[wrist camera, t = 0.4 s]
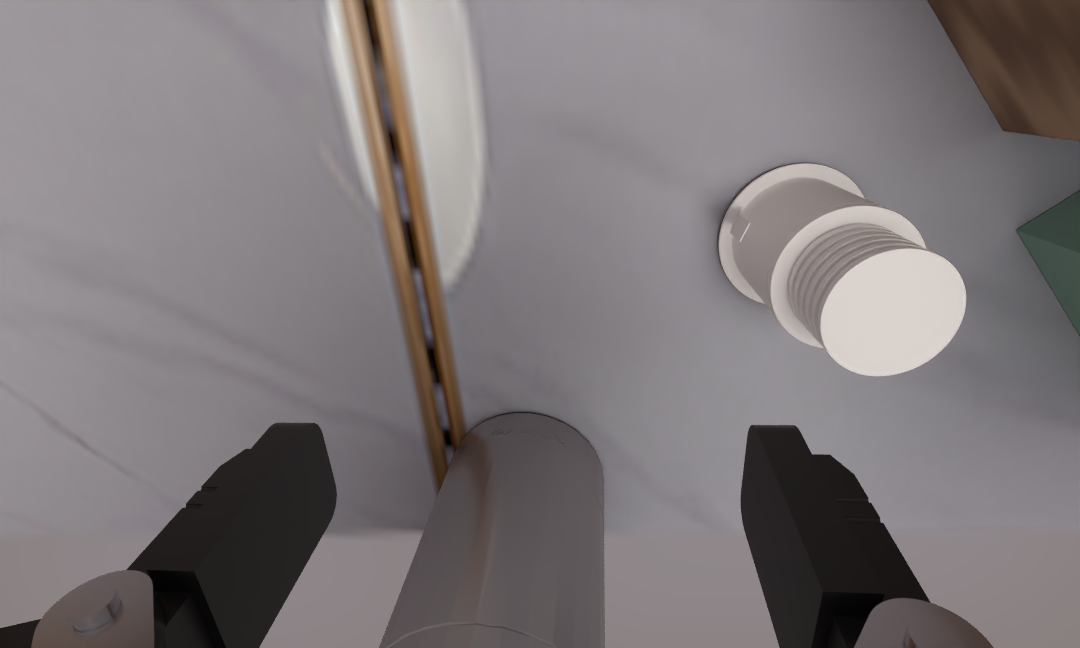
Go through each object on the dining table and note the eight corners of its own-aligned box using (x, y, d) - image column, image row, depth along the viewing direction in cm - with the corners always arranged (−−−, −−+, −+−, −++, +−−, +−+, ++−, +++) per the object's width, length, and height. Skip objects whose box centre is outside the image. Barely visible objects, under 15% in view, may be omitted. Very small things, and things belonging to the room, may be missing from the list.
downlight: (683, 270, 30) (732, 361, 21) (752, 134, 27) (845, 170, 18) (823, 325, 30) (930, 436, 21) (904, 199, 28) (1068, 264, 19)
